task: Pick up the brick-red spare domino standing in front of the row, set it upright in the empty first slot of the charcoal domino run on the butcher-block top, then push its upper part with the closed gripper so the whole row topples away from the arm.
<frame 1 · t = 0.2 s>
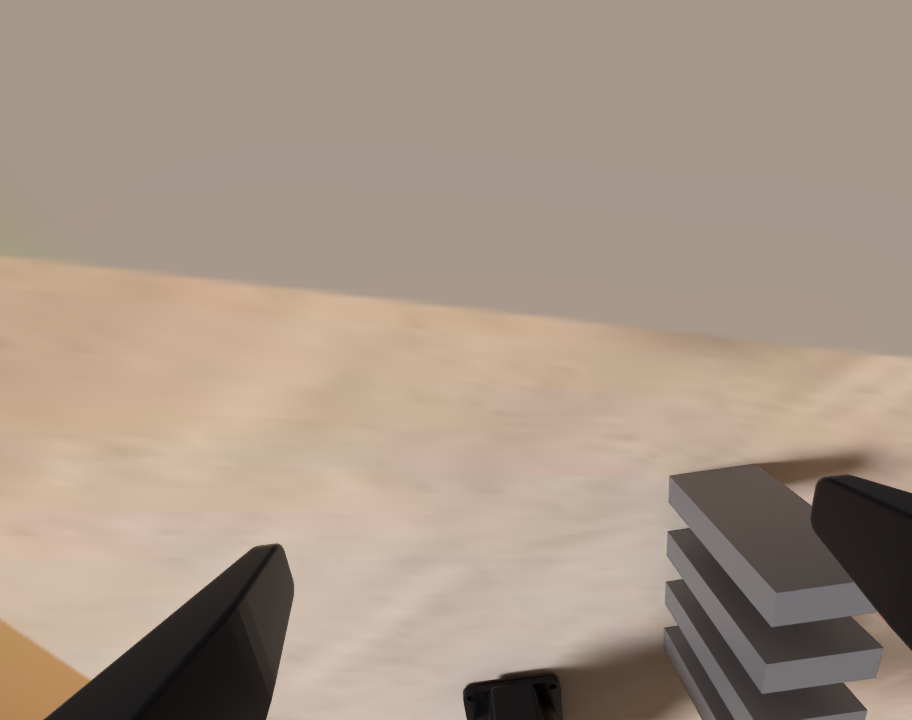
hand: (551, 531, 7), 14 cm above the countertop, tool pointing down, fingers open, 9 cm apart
domino 4: (708, 537, 26), on the countertop
domino 5: (712, 483, 25), on the countertop
domino 2: (701, 632, 28), on the countertop
domino 3: (704, 587, 27), on the countertop
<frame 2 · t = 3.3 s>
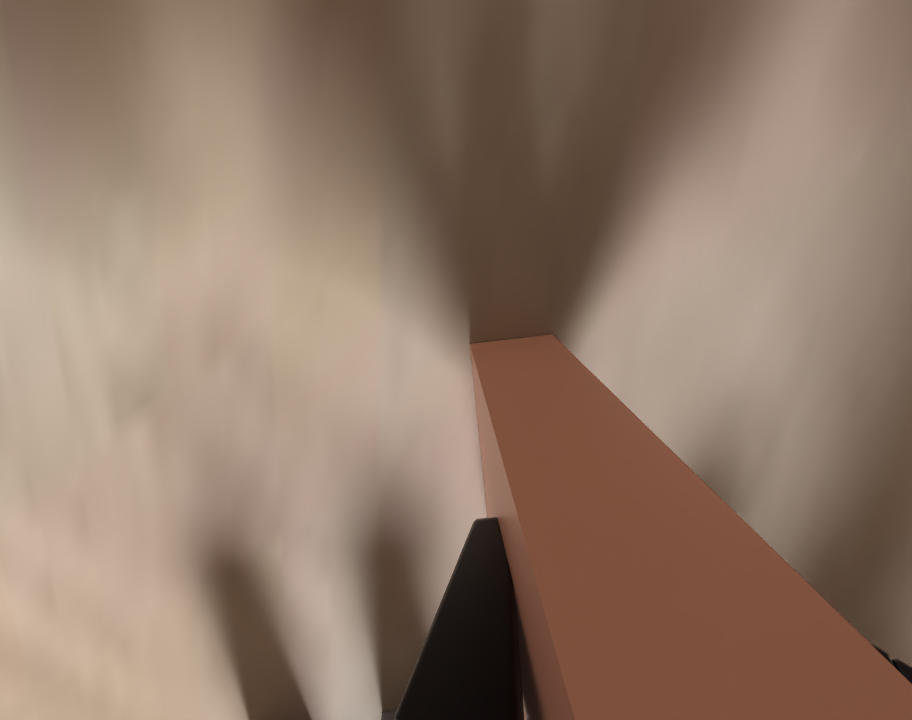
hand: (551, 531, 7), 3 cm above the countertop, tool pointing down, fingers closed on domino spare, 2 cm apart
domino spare: (518, 440, 10), on the countertop, touching gripper
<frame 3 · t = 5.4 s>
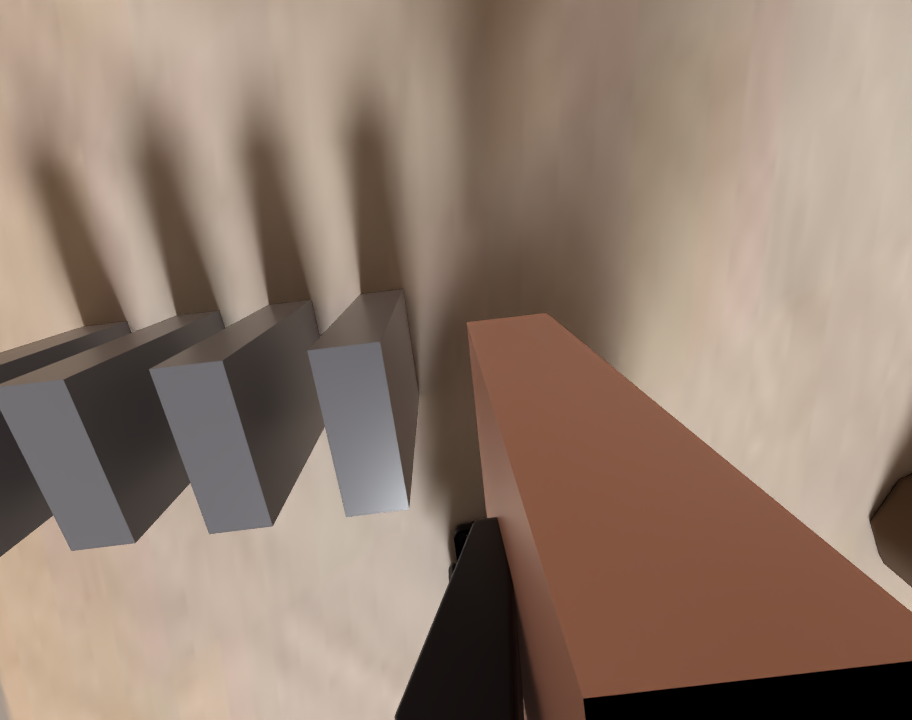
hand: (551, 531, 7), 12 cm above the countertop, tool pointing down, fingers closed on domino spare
domino 4: (215, 368, 19), on the countertop
domino 5: (126, 378, 19), on the countertop
domino 2: (391, 347, 19), on the countertop
domino 3: (303, 357, 19), on the countertop
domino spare: (513, 418, 10), point 9 cm above the countertop, touching gripper
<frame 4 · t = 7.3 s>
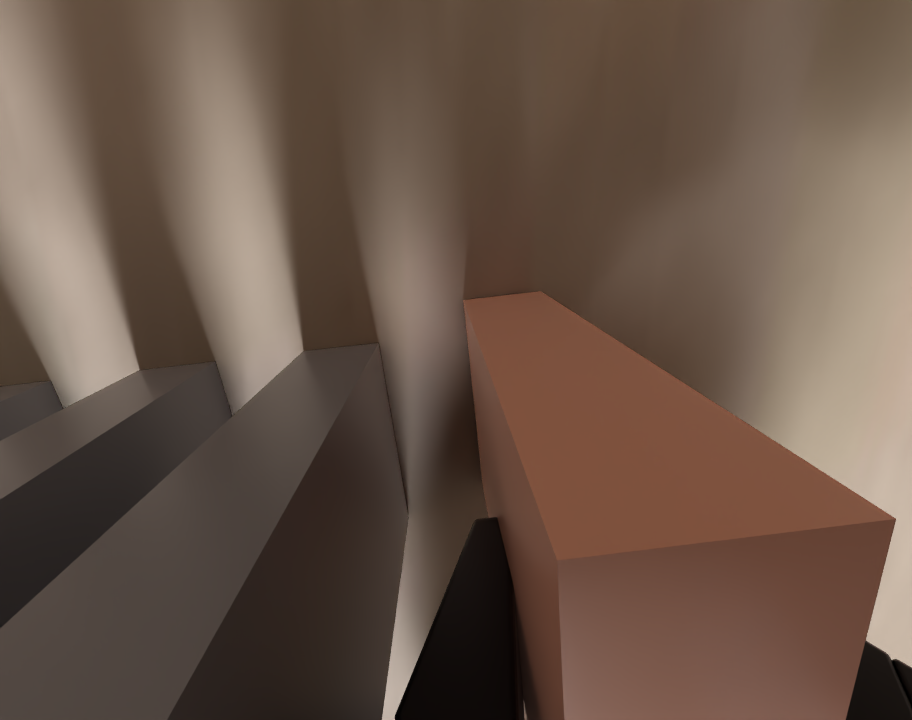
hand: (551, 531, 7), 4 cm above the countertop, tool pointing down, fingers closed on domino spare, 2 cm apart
domino 4: (55, 475, 11), on the countertop
domino 2: (359, 440, 11), on the countertop, touching gripper
domino 3: (208, 457, 11), on the countertop
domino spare: (509, 395, 11), on the countertop, touching gripper
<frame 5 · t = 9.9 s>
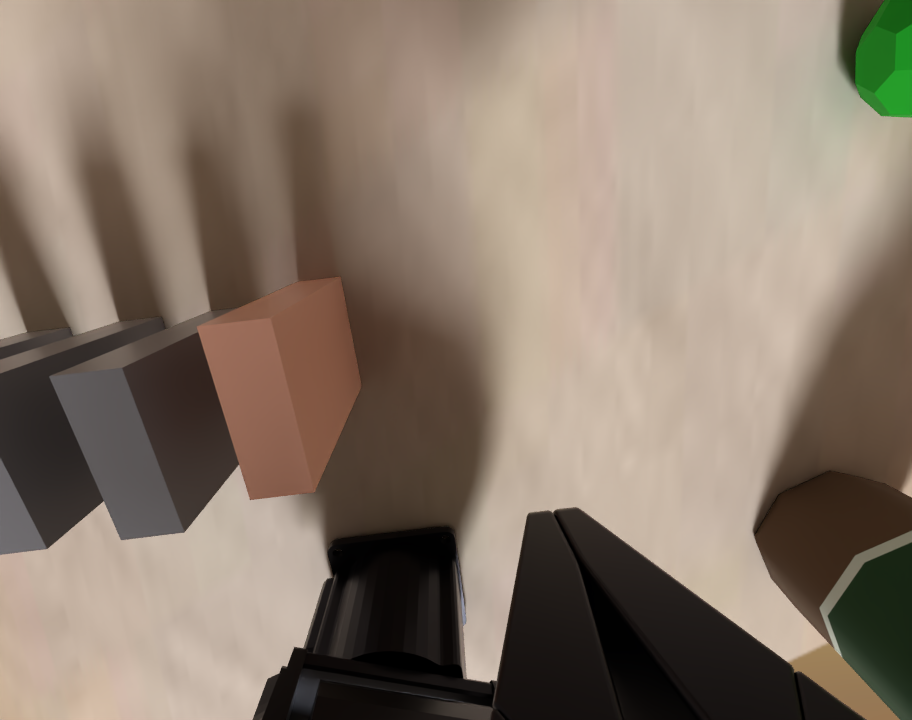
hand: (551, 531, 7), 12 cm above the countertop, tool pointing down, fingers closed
polyhedron: (879, 62, 17), on the countertop
domino 4: (71, 384, 19), on the countertop
domino 2: (247, 363, 19), on the countertop
beer bottle: (816, 525, 23), on the countertop
domino 3: (159, 373, 19), on the countertop
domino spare: (331, 336, 19), on the countertop
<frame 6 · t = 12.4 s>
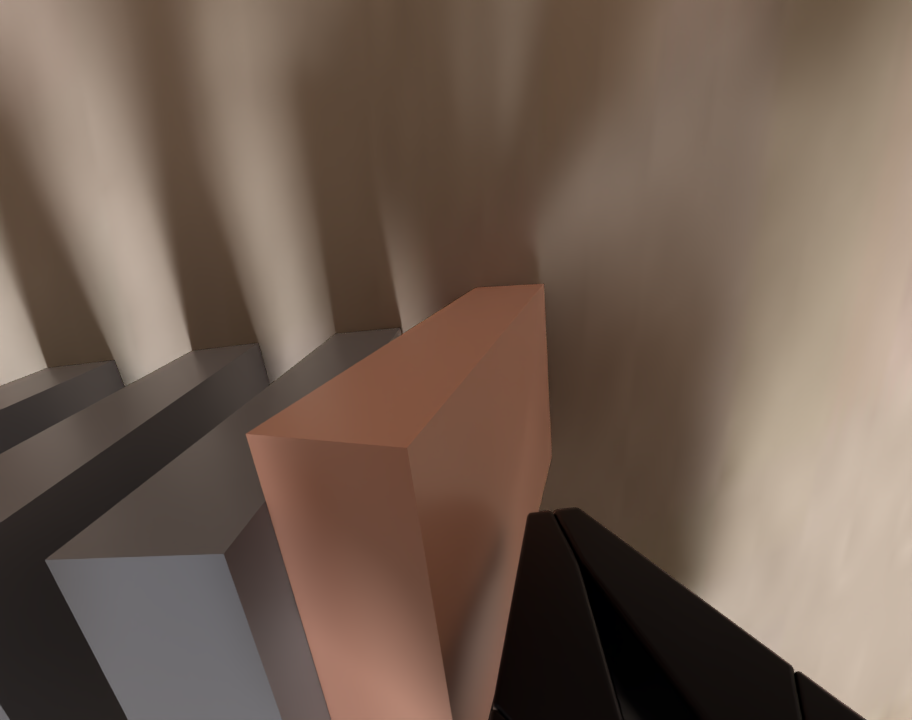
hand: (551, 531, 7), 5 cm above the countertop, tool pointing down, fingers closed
domino 4: (114, 445, 12), on the countertop
domino 2: (383, 414, 12), on the countertop, tilted 7°
domino 3: (249, 429, 12), on the countertop
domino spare: (515, 375, 12), on the countertop, tilted 22°
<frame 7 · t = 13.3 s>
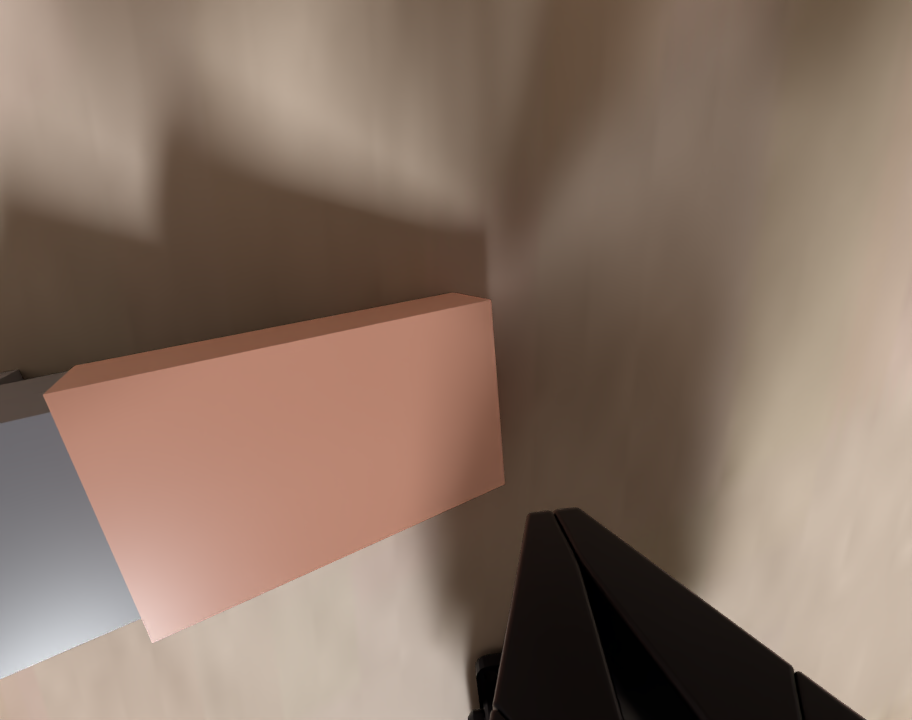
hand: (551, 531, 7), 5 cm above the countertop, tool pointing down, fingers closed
domino 2: (328, 432, 12), point 1 cm above the countertop, tilted 62°, touching domino 3, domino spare
domino 3: (171, 451, 11), point 1 cm above the countertop, tilted 62°, touching domino 2, domino 4
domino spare: (479, 388, 11), point 1 cm above the countertop, tilted 63°, touching domino 2
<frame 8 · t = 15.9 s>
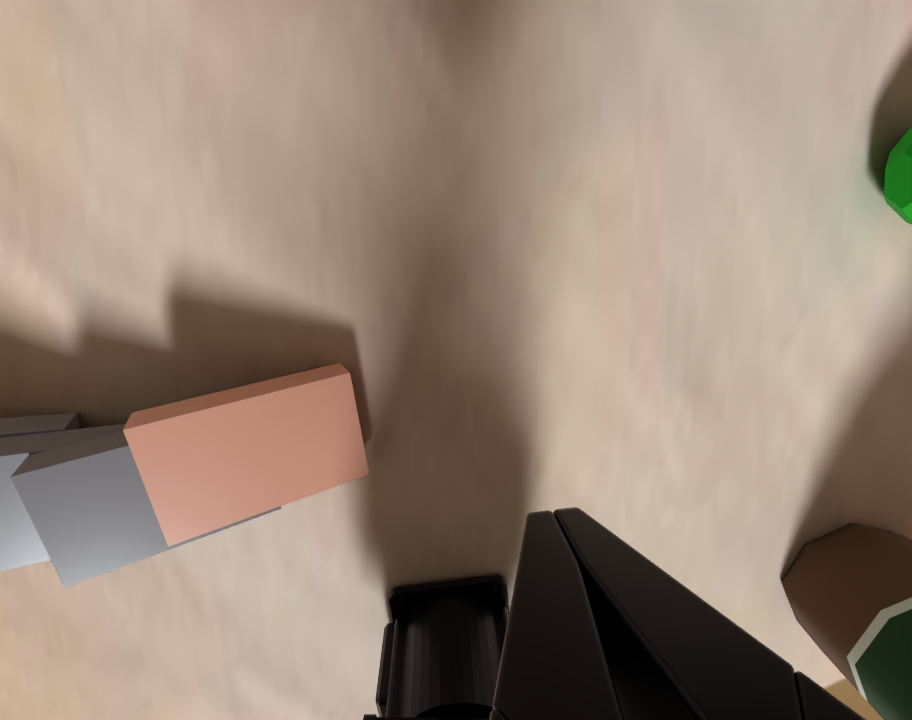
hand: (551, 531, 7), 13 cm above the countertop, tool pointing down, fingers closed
polyhedron: (904, 170, 18), on the countertop
domino 4: (79, 470, 20), point 1 cm above the countertop, tilted 67°, touching domino 3
domino 2: (266, 453, 20), point 1 cm above the countertop, tilted 63°, touching domino 3, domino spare
beer bottle: (838, 571, 25), on the countertop
domino 3: (163, 476, 20), point 1 cm above the countertop, tilted 63°, touching domino 2, domino 4
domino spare: (354, 418, 20), point 1 cm above the countertop, tilted 64°, touching domino 2
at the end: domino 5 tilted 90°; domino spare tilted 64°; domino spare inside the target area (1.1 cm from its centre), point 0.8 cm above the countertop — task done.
